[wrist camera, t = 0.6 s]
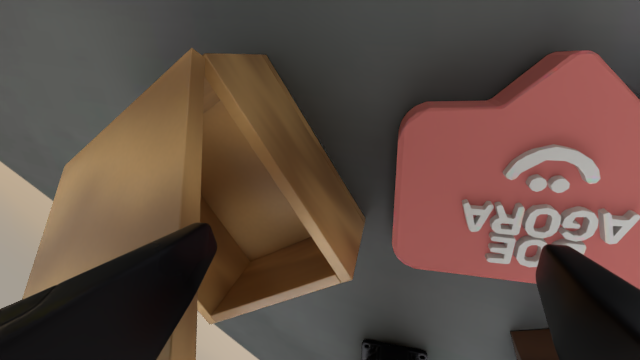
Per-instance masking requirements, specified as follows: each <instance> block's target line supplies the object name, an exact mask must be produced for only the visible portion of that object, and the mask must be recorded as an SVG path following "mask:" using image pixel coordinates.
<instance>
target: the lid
mask: <svg viewBox="0 0 640 360" xmlns="http://www.w3.org/2000/svg"><path fill="white" fill-rule="evenodd" d="M204 74H205V58H204V57H203V56H202V55H200V54H199V53H198V52H197V51H195V50H194V49H193V48H191V49H190V50H189V51H188V52H187V53H186V54H185V55H183V56H182V57H181V58H180V59H179V60H178V61H177V62H176V63H175V64H174V65H173V66H172V67H171V68H169V69H168V70H167V71H166V72H165V73H164V74H163V75H162V76H161V77H160V78H159V79H158V80H157V81H156V82H154V83H153V84H152V85H151V86H150V87H149V88H148V89H147V90H146V91H145V92H144V93H143V94H142V95H140V96H139V97H138V98H137V99H136V100H135V101H134V102H133V103H132V104H131V105H130V106H129V107H128V108H126V109H125V110H124V111H123V112H122V113H121V114H120V115H119V116H118V117H117V118H116V119H115V120H114V121H112V122H111V123H110V124H109V125H108V126H107V127H106V128H105V129H104V130H103V131H102V132H101V133H100V134H98V135H97V136H96V137H95V138H94V139H93V140H92V141H91V142H90V143H89V144H88V145H87V146H86V147H85V148H83V149H82V150H81V151H80V152H79V153H78V154H77V155H76V156H75V157H74V158H73V159H72V160H71V161H69V162H68V163H67V164H66V165H65V167H64V170H63V173H62V176H61V179H60V182H59V186H58V189H57V192H56V195H55V198H54V201H53V204H52V207H51V211H50V214H49V217H48V220H47V223H46V226H45V230H44V232H43V236H42V239H41V242H40V245H39V248H38V251H37V255H36V258H35V261H34V264H33V267H32V270H31V273H30V276H29V279H28V283H27V286H26V289H25V292H24V296H23V298H22V299H25V298H27V297H29V296H32V295H34V294H36V293H38V292H41V291H43V290H45V289H47V288H50V287H52V286H54V285H58V284H59V283H61V282H63V281H65V280H68V279H70V278H72V277H74V276H77V275H79V274H81V273H83V272H86V271H88V270H90V269H92V268H94V267H97V266H99V265H101V264H103V263H106V262H108V261H110V260H112V259H115V258H117V257H119V256H121V255H124V254H126V253H128V252H130V251H133V250H135V249H137V248H139V247H141V246H144V245H146V244H148V243H150V242H153V241H155V240H157V239H159V238H162V237H164V236H166V235H168V234H171V233H173V232H175V231H177V230H179V229H182V228H184V227H186V226H188V225H191V224H193V223H196V222H199V223H200V203H201V171H202V138H203V106H204ZM197 300H198V291H197V293H196V294H195V296H194V298H193V300H192V302H191V303H190V305H189V307H188V308H187V310H186V312H185V313H184V315H183V317H182V318H181V320H180V322H179V323H178V325H177V327H176V328H175V330H174V331H173V333H172V335H171V336H170V338H169V340H168V341H167V343H166V345H165V346H164V348H163V350H162V351H161V353H160V355H159V356H158V358H157V360H196V332H197V330H196V329H197Z"/></svg>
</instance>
